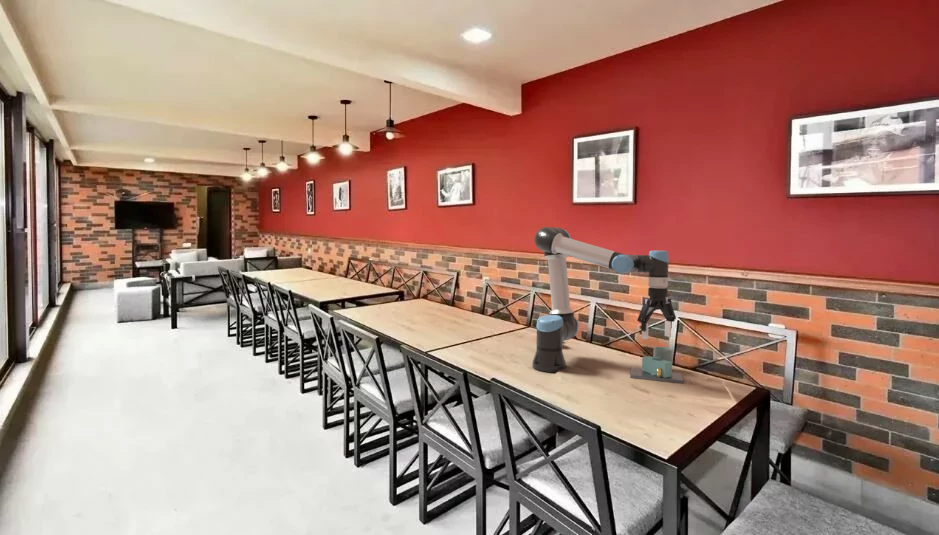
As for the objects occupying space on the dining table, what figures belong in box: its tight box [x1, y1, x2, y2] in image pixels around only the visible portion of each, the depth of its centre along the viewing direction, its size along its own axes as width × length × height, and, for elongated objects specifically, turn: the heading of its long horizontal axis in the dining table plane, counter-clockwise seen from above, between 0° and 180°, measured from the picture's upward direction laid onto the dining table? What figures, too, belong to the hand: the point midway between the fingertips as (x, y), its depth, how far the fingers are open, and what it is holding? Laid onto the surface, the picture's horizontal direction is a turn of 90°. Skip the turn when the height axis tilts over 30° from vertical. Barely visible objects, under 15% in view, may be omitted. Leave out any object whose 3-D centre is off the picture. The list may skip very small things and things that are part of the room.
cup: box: [652, 346, 674, 363], centre depth 199 cm, size 8×8×10 cm
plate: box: [629, 367, 684, 384], centre depth 190 cm, size 20×12×5 cm, turn 69°
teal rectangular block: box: [641, 355, 673, 378], centre depth 189 cm, size 12×4×7 cm, turn 25°
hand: (656, 337), depth 189 cm, fingers open, 13 cm apart
